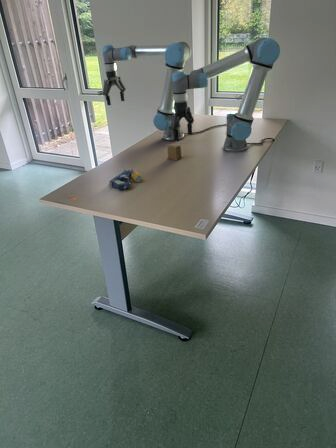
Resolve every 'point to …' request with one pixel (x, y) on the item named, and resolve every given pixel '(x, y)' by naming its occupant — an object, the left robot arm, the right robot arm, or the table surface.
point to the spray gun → (124, 179)
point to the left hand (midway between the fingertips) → (116, 103)
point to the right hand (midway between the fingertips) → (183, 137)
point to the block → (174, 151)
